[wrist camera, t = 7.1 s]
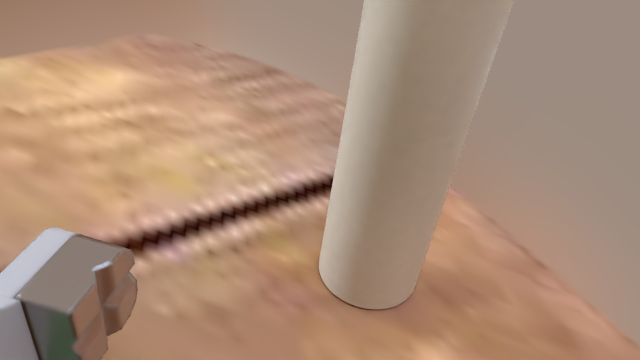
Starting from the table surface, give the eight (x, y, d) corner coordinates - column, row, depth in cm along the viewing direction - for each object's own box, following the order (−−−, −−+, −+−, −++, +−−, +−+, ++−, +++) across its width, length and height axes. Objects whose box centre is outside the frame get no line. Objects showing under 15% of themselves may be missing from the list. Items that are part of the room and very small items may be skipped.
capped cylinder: (437, 274, 24) (559, -50, 16) (376, 331, 21) (485, -31, 13) (359, 222, 26) (429, -87, 18) (294, 266, 23) (341, -78, 15)
